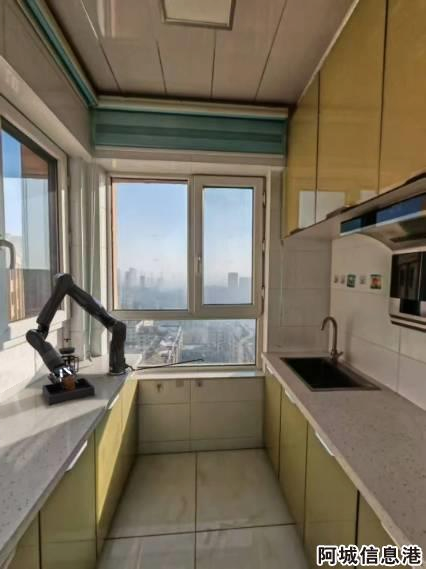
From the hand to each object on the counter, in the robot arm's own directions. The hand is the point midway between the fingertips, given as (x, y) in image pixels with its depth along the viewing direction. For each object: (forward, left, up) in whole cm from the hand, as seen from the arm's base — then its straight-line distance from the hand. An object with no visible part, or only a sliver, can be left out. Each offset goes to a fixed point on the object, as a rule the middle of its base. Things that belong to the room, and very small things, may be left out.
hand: (71, 387), depth 141 cm
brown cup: (+1, -1, -4) cm, 4 cm away
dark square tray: (+1, -1, -5) cm, 5 cm away
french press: (-5, -30, -5) cm, 31 cm away
